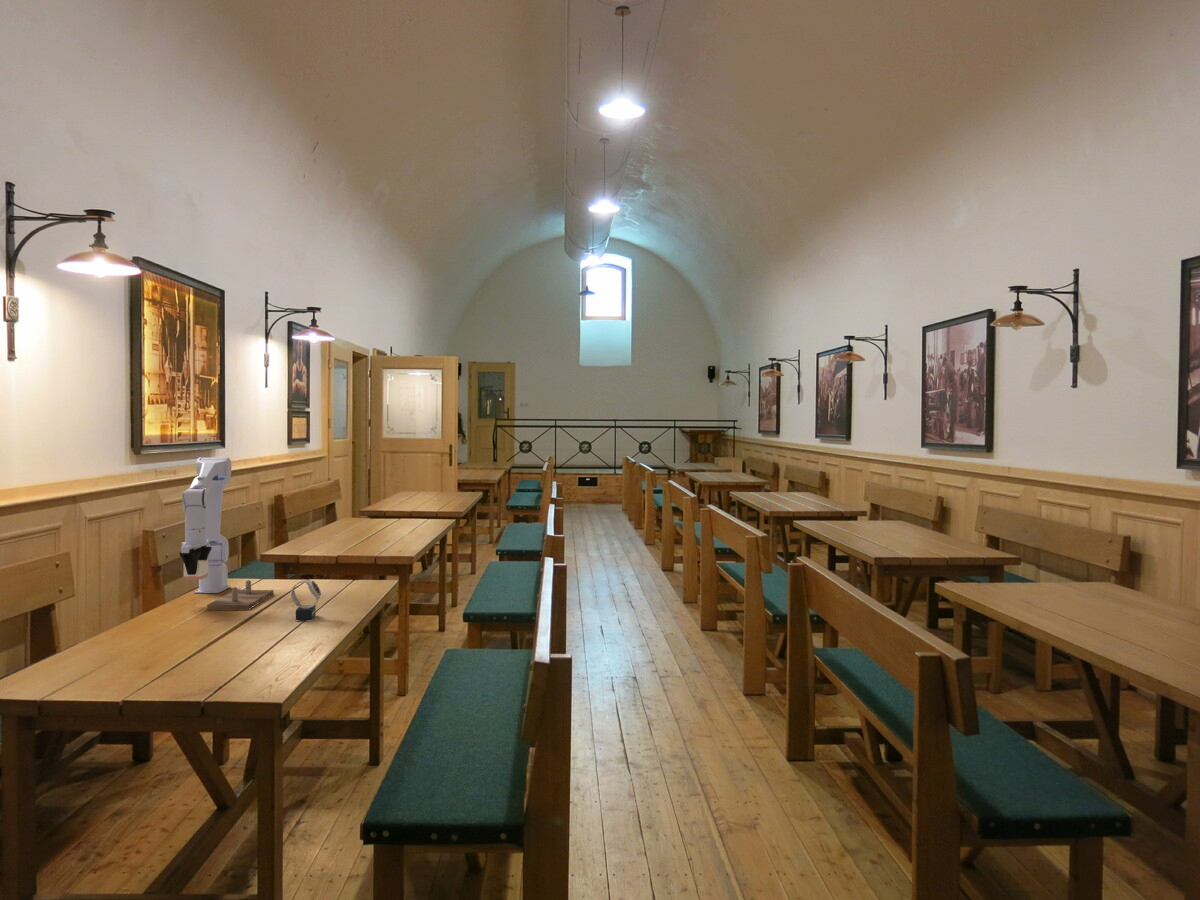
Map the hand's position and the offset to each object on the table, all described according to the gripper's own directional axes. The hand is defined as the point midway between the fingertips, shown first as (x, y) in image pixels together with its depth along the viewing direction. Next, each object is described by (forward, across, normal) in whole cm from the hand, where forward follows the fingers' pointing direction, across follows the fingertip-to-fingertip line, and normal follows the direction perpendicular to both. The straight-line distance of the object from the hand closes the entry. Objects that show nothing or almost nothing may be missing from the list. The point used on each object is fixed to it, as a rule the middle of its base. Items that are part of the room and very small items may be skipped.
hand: (196, 572), depth 235 cm
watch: (+10, +16, +38) cm, 42 cm away
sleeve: (+2, 0, 0) cm, 2 cm away
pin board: (+10, -4, +12) cm, 16 cm away
